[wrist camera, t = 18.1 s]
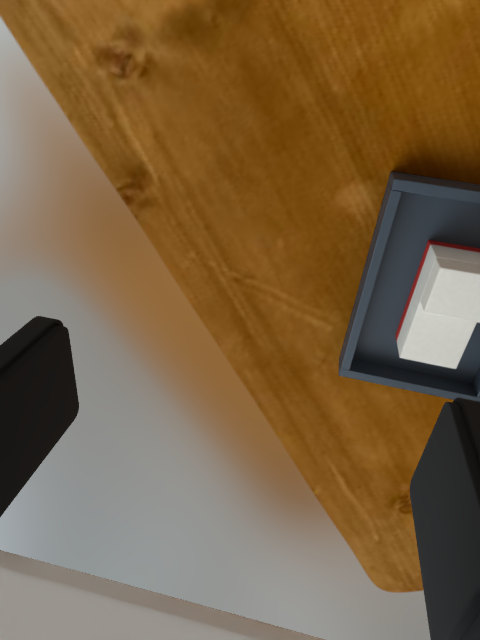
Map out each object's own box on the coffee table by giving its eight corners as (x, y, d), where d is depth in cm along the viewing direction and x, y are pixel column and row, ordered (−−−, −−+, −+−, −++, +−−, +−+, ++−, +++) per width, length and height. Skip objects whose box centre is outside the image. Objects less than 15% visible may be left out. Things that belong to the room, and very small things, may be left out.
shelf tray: (390, 170, 33) (394, 178, 31) (568, 198, 32) (585, 207, 29) (338, 359, 42) (338, 375, 40) (475, 387, 41) (483, 406, 38)
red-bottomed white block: (428, 239, 34) (440, 265, 30) (488, 249, 34) (510, 277, 29) (395, 335, 39) (401, 371, 35) (447, 345, 39) (461, 383, 34)
